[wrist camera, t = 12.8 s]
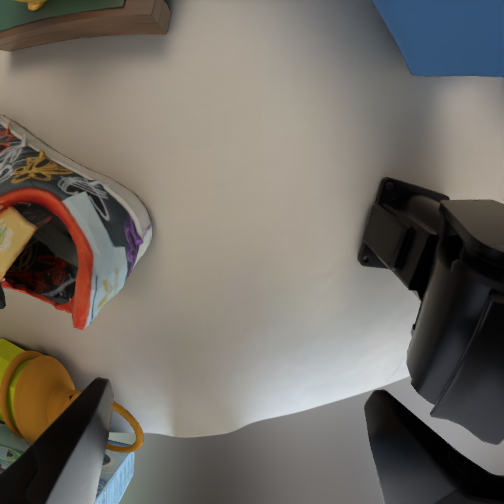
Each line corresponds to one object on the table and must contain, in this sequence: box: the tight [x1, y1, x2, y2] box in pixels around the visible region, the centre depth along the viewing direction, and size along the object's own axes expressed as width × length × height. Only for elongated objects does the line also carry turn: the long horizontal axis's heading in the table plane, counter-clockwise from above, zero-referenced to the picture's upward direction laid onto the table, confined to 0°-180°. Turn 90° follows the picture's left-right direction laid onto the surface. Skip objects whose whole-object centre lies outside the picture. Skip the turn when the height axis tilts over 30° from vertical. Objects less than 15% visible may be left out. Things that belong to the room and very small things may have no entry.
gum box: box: [0, 420, 135, 504], centre depth 18 cm, size 19×5×23 cm
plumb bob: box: [0, 338, 144, 453], centre depth 19 cm, size 9×9×25 cm
